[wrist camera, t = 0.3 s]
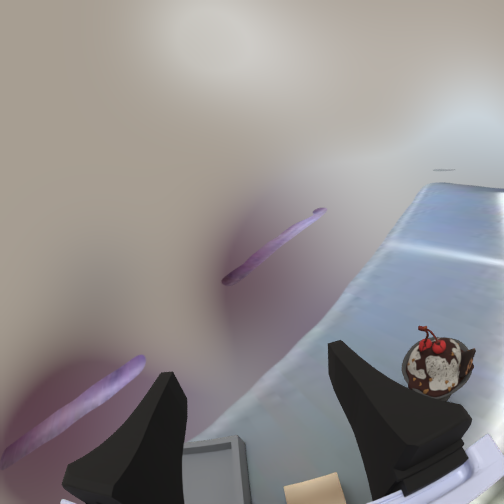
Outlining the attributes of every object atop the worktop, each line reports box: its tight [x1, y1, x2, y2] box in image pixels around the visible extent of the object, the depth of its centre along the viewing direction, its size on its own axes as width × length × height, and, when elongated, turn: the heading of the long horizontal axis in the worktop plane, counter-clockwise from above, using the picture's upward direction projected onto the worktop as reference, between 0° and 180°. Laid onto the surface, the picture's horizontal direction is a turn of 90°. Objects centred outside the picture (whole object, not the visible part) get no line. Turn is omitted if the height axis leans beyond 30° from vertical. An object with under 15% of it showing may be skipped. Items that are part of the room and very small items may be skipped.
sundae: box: [402, 326, 476, 401], centre depth 18 cm, size 7×7×15 cm
